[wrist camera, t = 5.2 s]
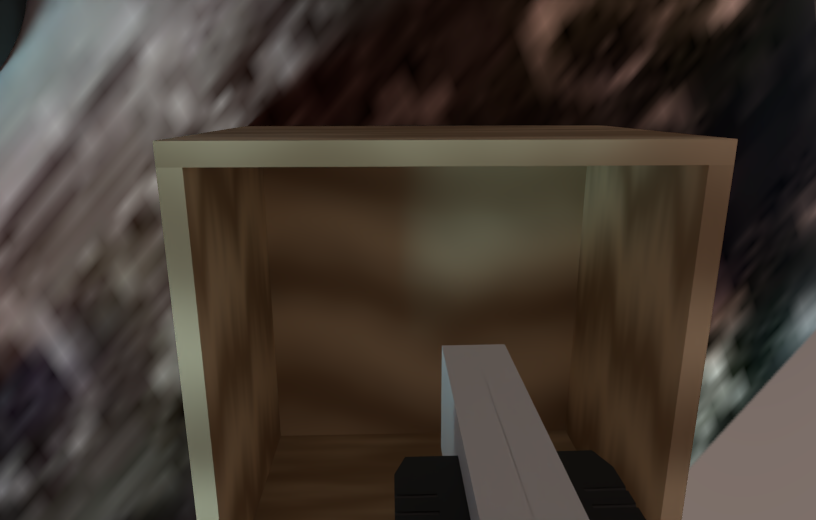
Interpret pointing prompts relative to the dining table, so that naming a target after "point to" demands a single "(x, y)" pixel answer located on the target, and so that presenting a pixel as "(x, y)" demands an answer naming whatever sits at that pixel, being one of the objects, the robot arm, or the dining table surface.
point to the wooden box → (434, 299)
